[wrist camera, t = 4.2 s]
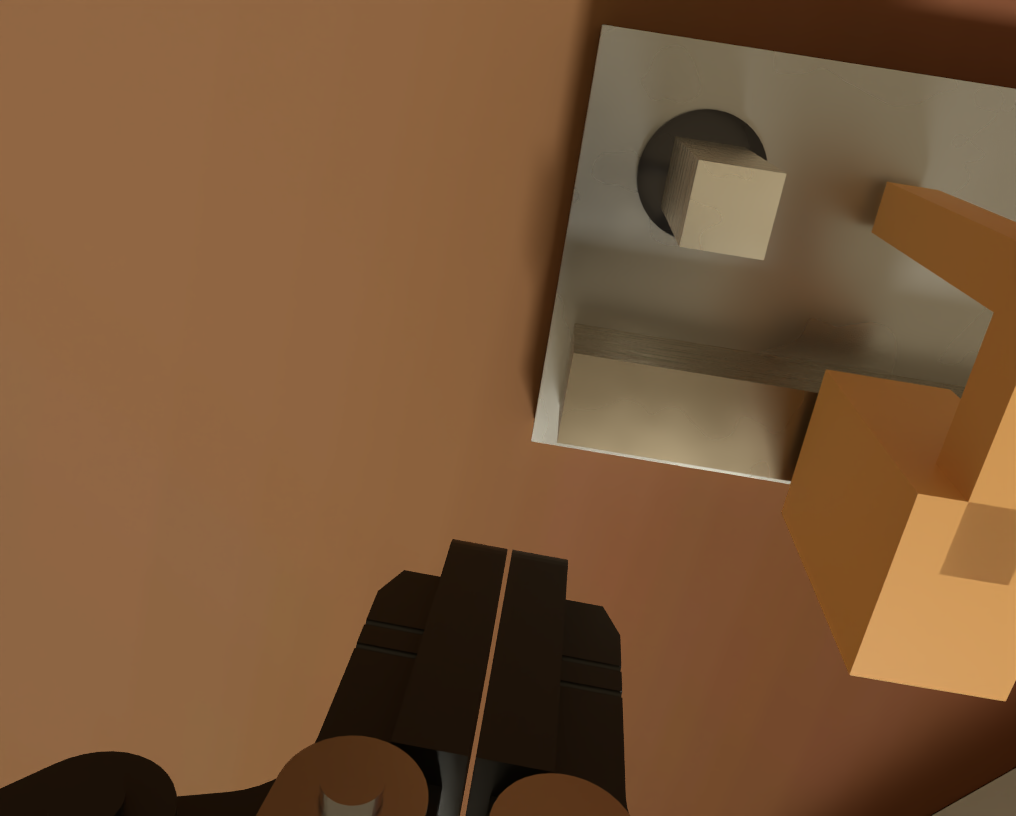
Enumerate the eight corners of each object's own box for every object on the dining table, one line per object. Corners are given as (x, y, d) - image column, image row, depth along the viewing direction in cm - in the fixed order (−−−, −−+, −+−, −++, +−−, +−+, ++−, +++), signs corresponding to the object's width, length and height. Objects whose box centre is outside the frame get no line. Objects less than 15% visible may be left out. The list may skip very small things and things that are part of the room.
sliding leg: (764, 472, 20) (849, 674, 13) (854, 166, 17) (1014, 238, 11) (869, 489, 20) (1005, 701, 13) (977, 184, 17) (1211, 269, 11)
